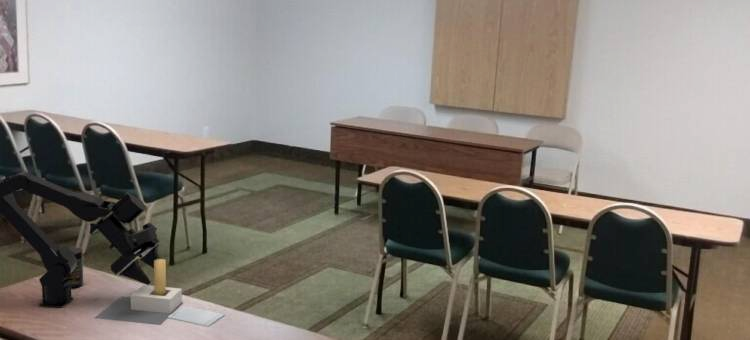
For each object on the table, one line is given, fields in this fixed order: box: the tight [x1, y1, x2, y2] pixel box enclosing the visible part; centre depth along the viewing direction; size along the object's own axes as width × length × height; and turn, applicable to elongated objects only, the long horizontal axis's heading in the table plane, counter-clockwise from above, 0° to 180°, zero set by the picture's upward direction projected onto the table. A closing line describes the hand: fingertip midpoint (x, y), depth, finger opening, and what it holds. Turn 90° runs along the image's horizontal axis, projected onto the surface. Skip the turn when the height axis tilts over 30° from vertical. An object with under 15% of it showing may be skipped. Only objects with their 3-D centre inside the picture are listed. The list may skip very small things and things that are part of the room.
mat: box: [94, 295, 184, 326], centre depth 197 cm, size 18×16×1 cm
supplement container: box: [66, 246, 85, 290], centre depth 212 cm, size 7×7×10 cm
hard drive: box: [167, 305, 226, 328], centre depth 195 cm, size 2×8×12 cm
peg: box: [153, 258, 167, 296], centre depth 199 cm, size 3×3×13 cm
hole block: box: [130, 284, 183, 313], centre depth 200 cm, size 11×8×4 cm
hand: (156, 277), depth 199 cm, fingers open, 9 cm apart
